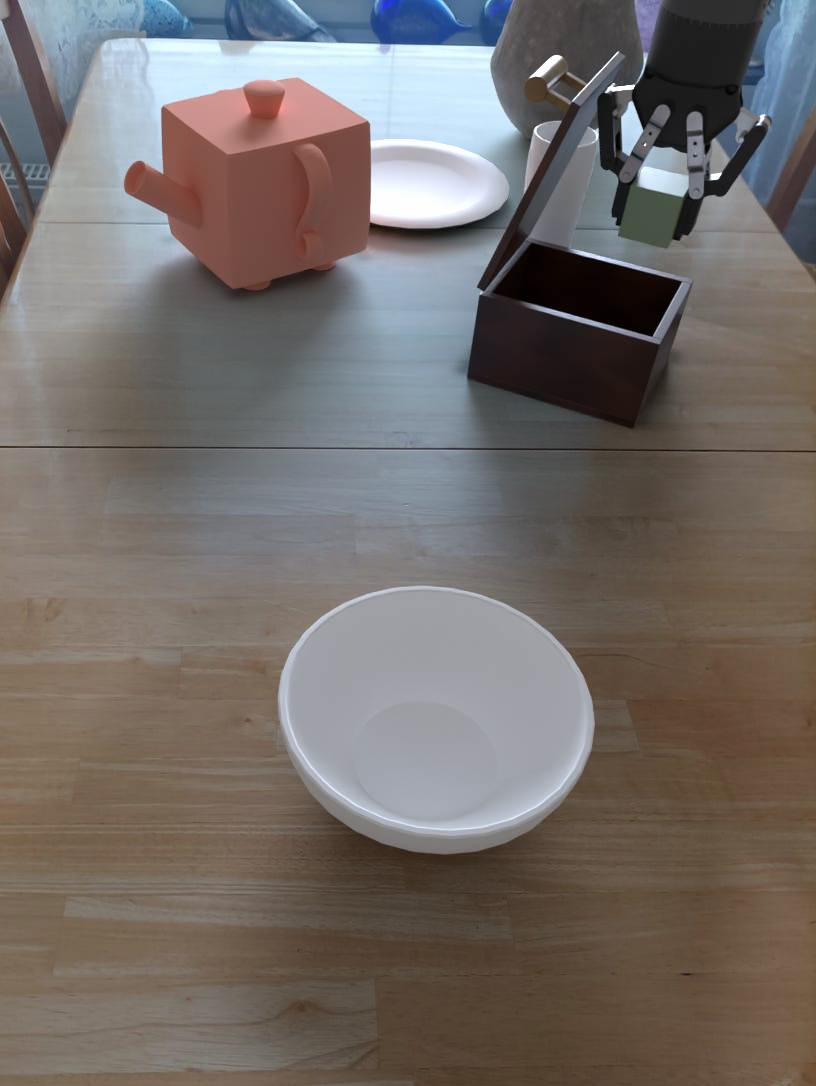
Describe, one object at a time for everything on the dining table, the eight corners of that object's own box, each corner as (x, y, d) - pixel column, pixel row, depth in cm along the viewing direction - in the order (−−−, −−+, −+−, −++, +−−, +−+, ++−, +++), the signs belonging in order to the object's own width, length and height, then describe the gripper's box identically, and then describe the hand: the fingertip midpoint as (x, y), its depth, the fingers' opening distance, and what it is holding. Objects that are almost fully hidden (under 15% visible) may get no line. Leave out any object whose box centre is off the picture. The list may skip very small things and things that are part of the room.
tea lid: (626, 56, 82) (573, 23, 82) (580, 106, 74) (521, 70, 74) (530, 234, 96) (485, 206, 96) (483, 292, 88) (434, 261, 88)
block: (679, 228, 85) (695, 177, 82) (667, 249, 82) (683, 197, 79) (630, 216, 86) (644, 165, 83) (617, 236, 84) (630, 185, 80)
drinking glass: (503, 282, 108) (527, 141, 96) (514, 254, 112) (538, 116, 101) (563, 293, 107) (595, 151, 95) (572, 264, 111) (604, 125, 100)
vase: (555, 177, 126) (601, -53, 107) (454, 127, 136) (479, -92, 117) (651, 141, 135) (709, -78, 116) (550, 97, 144) (588, -112, 125)
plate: (268, 184, 122) (268, 171, 121) (409, 135, 133) (411, 122, 132) (407, 262, 110) (408, 247, 109) (549, 200, 121) (552, 187, 120)
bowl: (341, 621, 73) (345, 553, 68) (596, 700, 69) (622, 634, 64) (229, 832, 61) (223, 768, 56) (530, 943, 57) (555, 887, 52)
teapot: (189, 342, 98) (171, 160, 84) (95, 248, 110) (67, 76, 97) (390, 279, 107) (403, 106, 94) (283, 199, 120) (281, 35, 106)
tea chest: (667, 362, 98) (694, 279, 92) (633, 429, 91) (660, 344, 84) (511, 318, 103) (526, 236, 96) (466, 378, 95) (479, 294, 89)
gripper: (605, -2, 71) (557, 227, 84) (805, 35, 67) (722, 269, 80) (632, -27, 75) (583, 194, 88) (821, 5, 71) (741, 232, 84)
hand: (650, 228), depth 84 cm, fingers closed on block, 4 cm apart
